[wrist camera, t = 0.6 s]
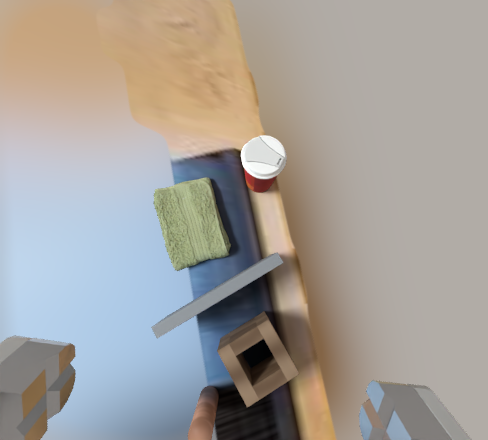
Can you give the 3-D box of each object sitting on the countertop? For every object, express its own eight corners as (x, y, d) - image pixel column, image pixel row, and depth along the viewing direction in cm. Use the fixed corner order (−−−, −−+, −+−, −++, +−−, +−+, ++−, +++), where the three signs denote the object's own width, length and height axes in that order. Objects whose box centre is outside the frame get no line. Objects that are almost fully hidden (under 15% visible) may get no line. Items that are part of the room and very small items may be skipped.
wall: (275, 262, 55) (283, 262, 46) (172, 324, 53) (157, 338, 43) (270, 254, 56) (277, 252, 46) (167, 315, 54) (151, 327, 44)
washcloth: (210, 176, 59) (208, 171, 56) (233, 254, 56) (233, 253, 53) (152, 193, 58) (146, 189, 55) (172, 273, 55) (168, 273, 52)
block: (290, 357, 52) (299, 373, 45) (246, 385, 52) (247, 407, 44) (264, 311, 54) (268, 319, 46) (220, 338, 53) (217, 351, 45)
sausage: (221, 399, 51) (216, 440, 39) (205, 409, 51) (195, 454, 39) (213, 382, 52) (204, 417, 40) (197, 392, 51) (183, 430, 39)
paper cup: (282, 172, 59) (295, 144, 45) (267, 203, 57) (275, 184, 44) (250, 157, 59) (253, 124, 45) (234, 187, 58) (232, 163, 44)
